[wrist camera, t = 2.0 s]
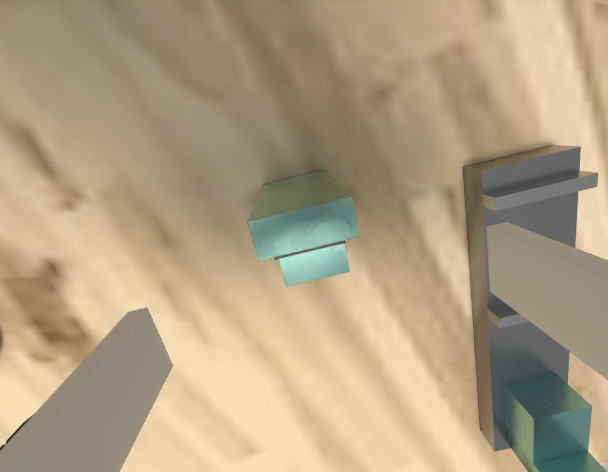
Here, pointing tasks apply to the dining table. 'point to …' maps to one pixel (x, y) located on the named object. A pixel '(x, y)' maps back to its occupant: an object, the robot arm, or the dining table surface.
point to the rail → (517, 329)
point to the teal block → (304, 226)
